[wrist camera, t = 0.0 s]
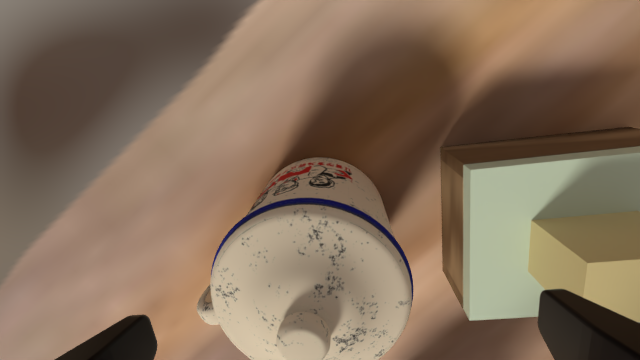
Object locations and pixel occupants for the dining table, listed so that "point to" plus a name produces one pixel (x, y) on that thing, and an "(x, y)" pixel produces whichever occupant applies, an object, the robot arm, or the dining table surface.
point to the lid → (552, 232)
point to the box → (501, 151)
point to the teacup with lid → (311, 270)
